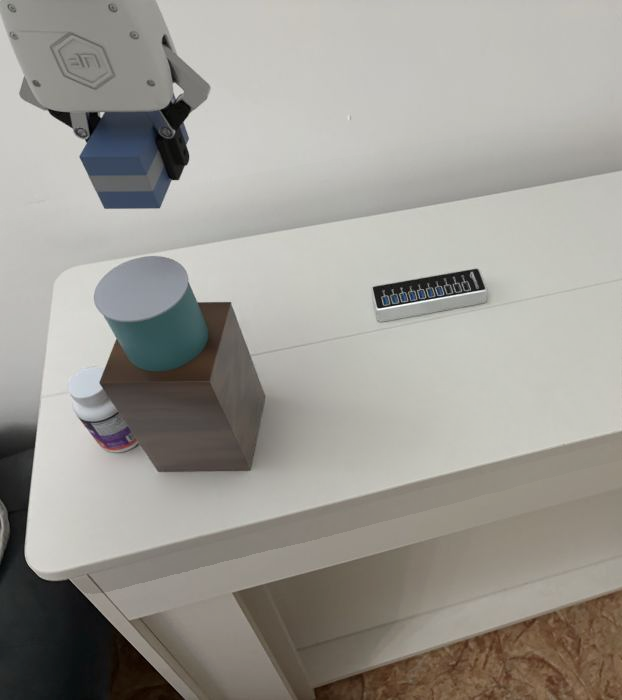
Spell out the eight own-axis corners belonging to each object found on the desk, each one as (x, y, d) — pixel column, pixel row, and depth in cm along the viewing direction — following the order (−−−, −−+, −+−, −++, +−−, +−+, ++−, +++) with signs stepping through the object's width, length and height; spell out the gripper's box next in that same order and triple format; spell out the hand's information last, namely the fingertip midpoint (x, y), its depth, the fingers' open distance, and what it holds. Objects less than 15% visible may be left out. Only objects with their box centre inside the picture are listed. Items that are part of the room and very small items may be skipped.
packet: (160, 208, 57) (138, 156, 54) (103, 209, 57) (78, 156, 53) (189, 138, 64) (172, 86, 60) (139, 138, 64) (118, 87, 60)
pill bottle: (95, 423, 80) (57, 371, 73) (144, 407, 82) (111, 354, 74) (101, 461, 77) (62, 410, 70) (152, 443, 79) (119, 392, 71)
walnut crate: (250, 470, 77) (209, 381, 64) (157, 471, 76) (98, 383, 64) (265, 395, 83) (230, 301, 71) (179, 396, 83) (130, 302, 70)
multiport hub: (372, 298, 93) (370, 285, 91) (478, 279, 95) (479, 267, 93) (377, 322, 90) (376, 310, 88) (487, 302, 93) (487, 290, 91)
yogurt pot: (200, 372, 65) (175, 320, 59) (113, 373, 65) (80, 321, 59) (218, 309, 70) (196, 255, 64) (137, 310, 70) (109, 256, 64)
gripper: (-106, -39, 44) (31, 199, 58) (168, -40, 44) (239, 197, 58) (-51, -83, 49) (64, 146, 63) (196, -84, 49) (255, 145, 63)
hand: (147, 169), depth 60 cm, fingers closed on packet, 4 cm apart
